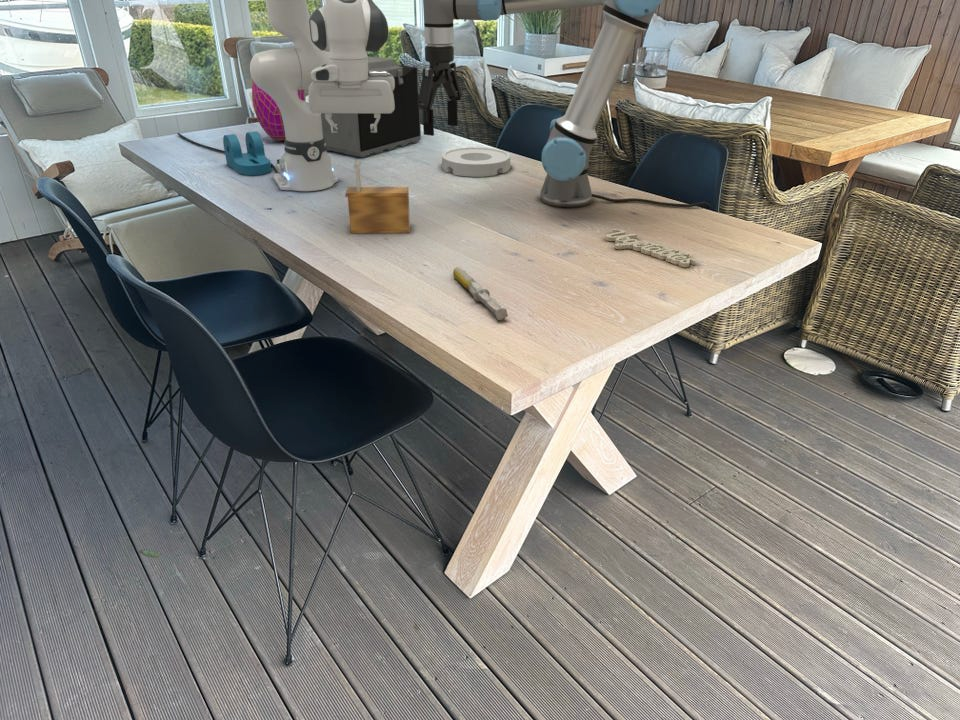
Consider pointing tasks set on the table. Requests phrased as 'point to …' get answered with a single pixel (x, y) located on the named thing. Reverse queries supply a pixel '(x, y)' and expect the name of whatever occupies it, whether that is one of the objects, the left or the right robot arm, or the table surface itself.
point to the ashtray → (475, 161)
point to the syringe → (479, 293)
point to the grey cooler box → (390, 127)
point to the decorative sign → (649, 248)
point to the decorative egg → (269, 112)
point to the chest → (379, 214)
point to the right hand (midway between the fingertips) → (441, 130)
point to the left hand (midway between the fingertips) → (354, 132)
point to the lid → (373, 188)
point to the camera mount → (246, 154)
